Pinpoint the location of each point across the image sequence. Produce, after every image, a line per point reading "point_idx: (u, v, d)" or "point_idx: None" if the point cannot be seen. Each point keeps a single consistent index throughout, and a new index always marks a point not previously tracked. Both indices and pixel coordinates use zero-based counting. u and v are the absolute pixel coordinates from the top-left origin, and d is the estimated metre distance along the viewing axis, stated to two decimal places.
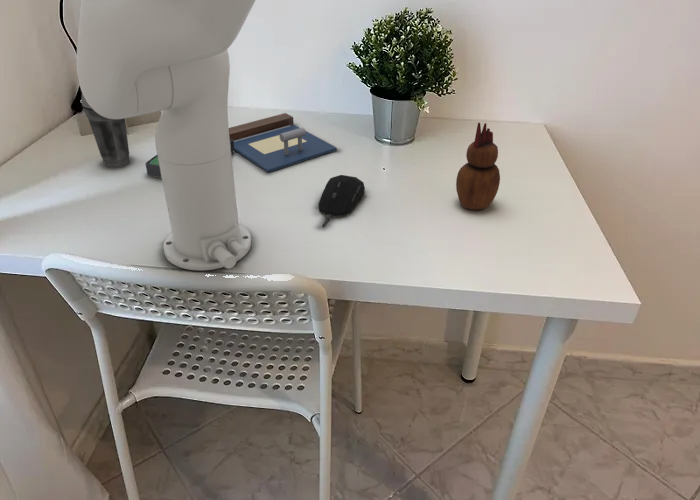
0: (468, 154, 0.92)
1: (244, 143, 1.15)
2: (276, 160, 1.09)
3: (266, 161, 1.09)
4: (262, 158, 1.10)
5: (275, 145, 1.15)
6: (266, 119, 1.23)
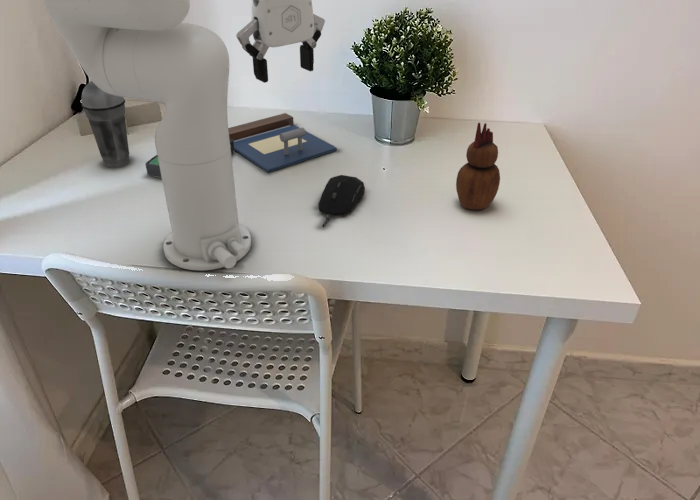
0: (468, 154, 0.92)
1: (244, 143, 1.15)
2: (276, 160, 1.09)
3: (266, 161, 1.09)
4: (262, 158, 1.10)
5: (275, 145, 1.15)
6: (266, 119, 1.23)
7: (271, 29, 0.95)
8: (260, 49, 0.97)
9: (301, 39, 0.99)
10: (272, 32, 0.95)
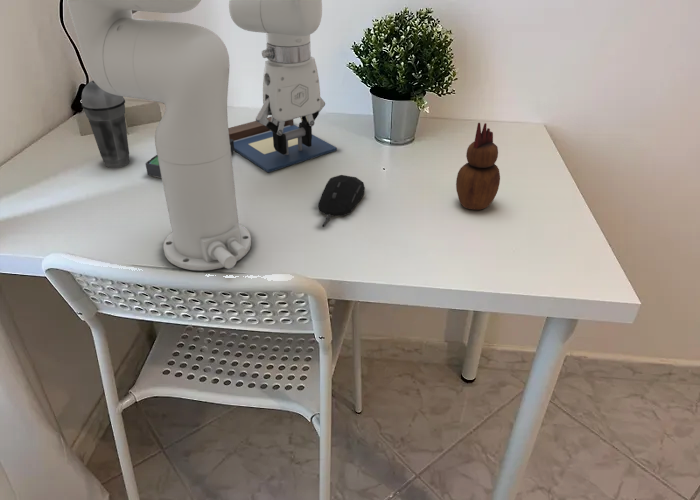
0: (468, 154, 0.92)
1: (244, 143, 1.15)
2: (276, 160, 1.09)
3: (266, 161, 1.09)
4: (262, 158, 1.10)
5: None
6: None
7: (281, 106, 1.03)
8: (278, 127, 1.06)
9: (308, 112, 1.07)
10: (282, 108, 1.03)
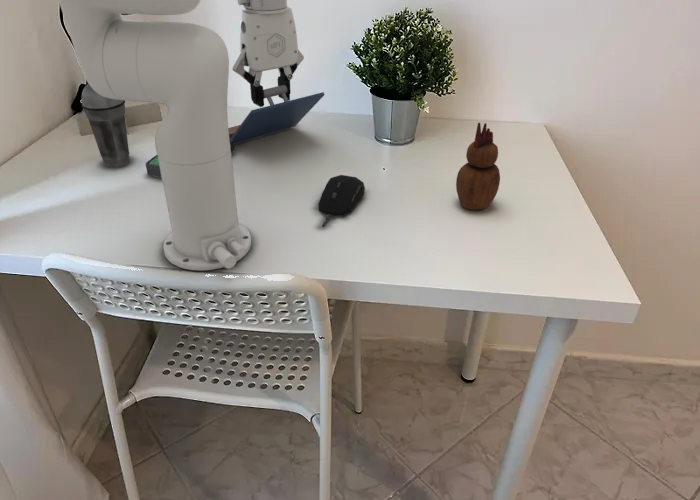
0: (468, 154, 0.92)
1: None
2: None
3: None
4: None
5: None
6: None
7: (257, 55, 1.03)
8: (255, 77, 1.06)
9: (286, 64, 1.07)
10: (258, 57, 1.03)
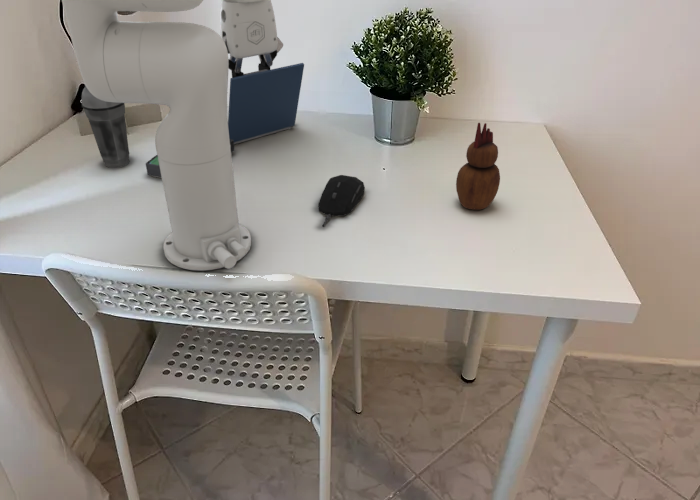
0: (468, 154, 0.92)
1: None
2: None
3: None
4: None
5: None
6: None
7: (237, 42, 1.07)
8: (236, 64, 1.10)
9: (265, 51, 1.11)
10: (238, 45, 1.07)
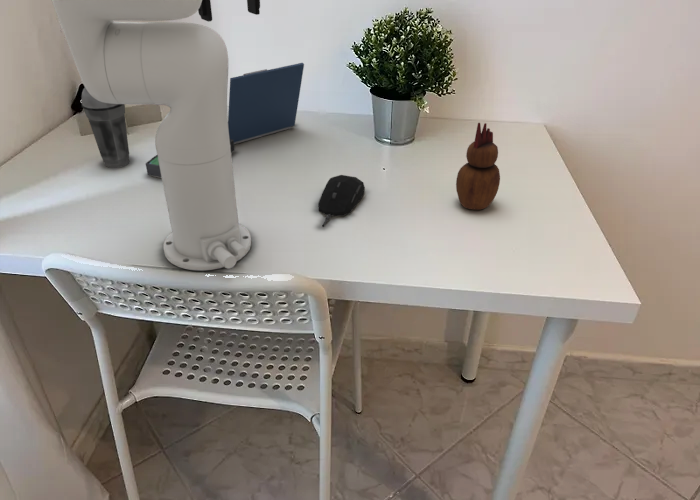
0: (468, 154, 0.92)
1: None
2: None
3: None
4: None
5: None
6: None
7: None
8: None
9: None
10: None
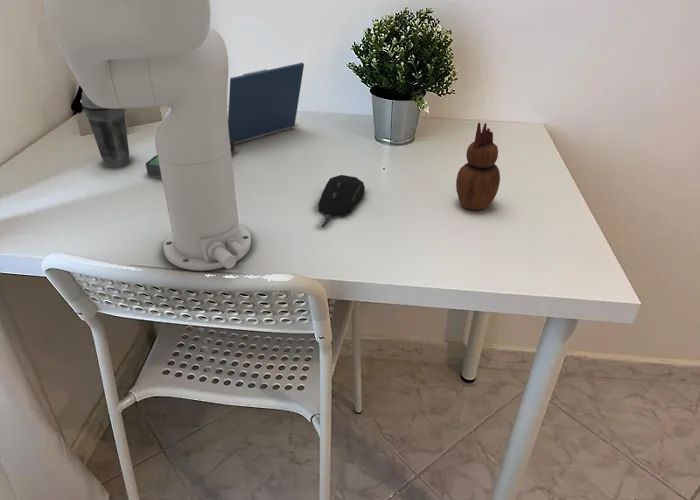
0: (468, 154, 0.92)
1: None
2: None
3: None
4: None
5: None
6: None
7: None
8: None
9: None
10: None
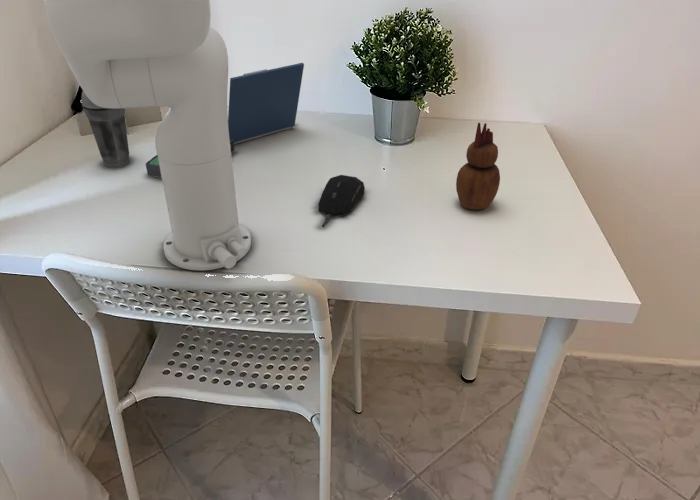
0: (468, 154, 0.92)
1: None
2: None
3: None
4: None
5: None
6: None
7: None
8: None
9: None
10: None
